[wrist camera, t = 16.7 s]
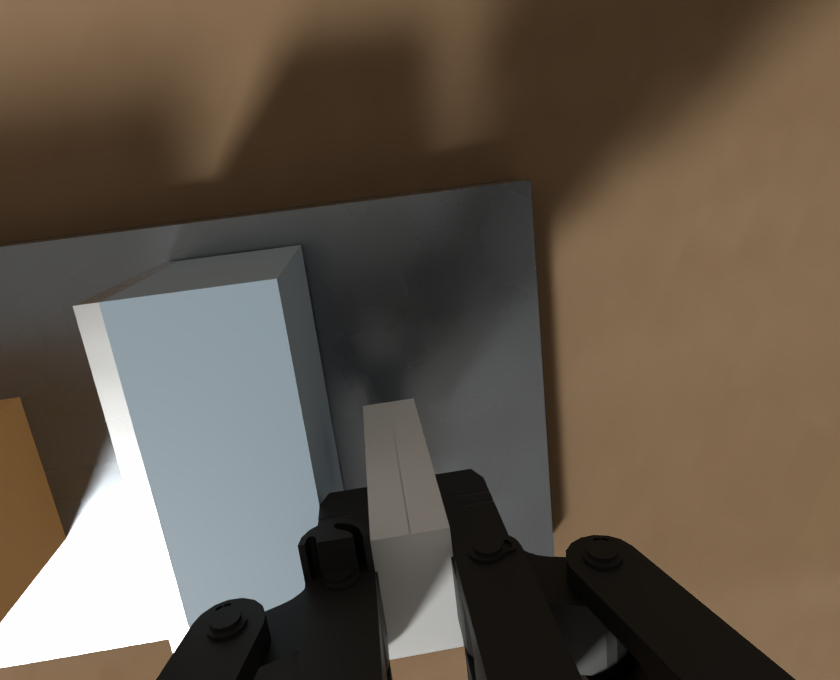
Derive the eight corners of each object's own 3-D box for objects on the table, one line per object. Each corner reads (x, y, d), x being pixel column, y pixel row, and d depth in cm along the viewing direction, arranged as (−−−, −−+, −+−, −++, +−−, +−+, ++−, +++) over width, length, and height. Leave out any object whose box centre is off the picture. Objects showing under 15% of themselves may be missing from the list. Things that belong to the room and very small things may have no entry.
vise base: (517, 179, 19) (614, 184, 12) (542, 547, 23) (626, 714, 16) (-418, 296, 17) (-954, 385, 10) (-217, 676, 21) (-505, 930, 14)
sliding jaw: (301, 244, 17) (276, 278, 12) (360, 587, 21) (362, 735, 15) (161, 263, 17) (72, 306, 12) (245, 607, 21) (205, 764, 15)
